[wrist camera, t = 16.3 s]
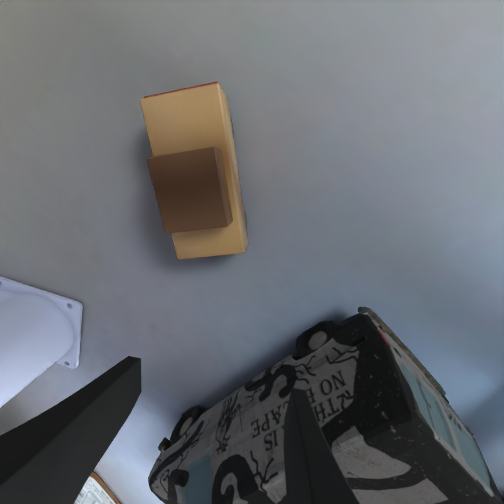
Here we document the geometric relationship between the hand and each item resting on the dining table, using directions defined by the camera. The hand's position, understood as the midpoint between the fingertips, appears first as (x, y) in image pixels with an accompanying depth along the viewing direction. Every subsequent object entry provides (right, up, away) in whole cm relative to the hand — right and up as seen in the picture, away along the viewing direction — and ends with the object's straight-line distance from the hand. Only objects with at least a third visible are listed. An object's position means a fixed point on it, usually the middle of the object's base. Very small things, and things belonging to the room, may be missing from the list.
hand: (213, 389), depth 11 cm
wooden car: (-1, +12, +7) cm, 14 cm away
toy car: (+5, -8, +13) cm, 16 cm away
